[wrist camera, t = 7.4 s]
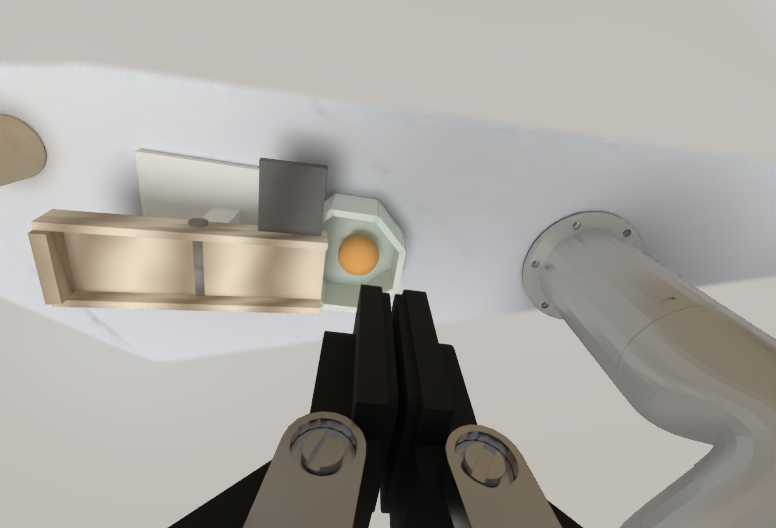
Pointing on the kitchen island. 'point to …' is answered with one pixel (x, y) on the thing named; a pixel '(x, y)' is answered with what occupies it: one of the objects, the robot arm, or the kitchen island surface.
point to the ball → (358, 255)
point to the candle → (19, 151)
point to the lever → (193, 253)
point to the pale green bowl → (367, 220)
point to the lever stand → (197, 188)
